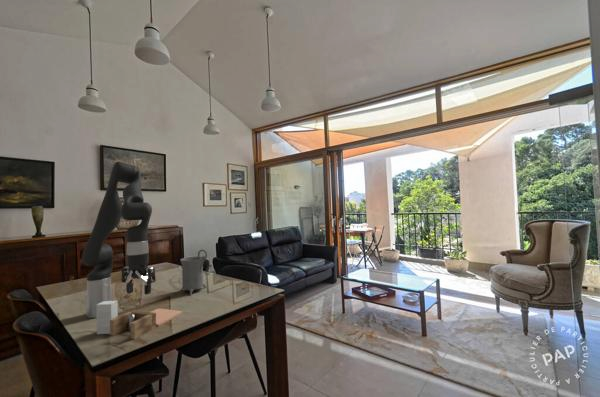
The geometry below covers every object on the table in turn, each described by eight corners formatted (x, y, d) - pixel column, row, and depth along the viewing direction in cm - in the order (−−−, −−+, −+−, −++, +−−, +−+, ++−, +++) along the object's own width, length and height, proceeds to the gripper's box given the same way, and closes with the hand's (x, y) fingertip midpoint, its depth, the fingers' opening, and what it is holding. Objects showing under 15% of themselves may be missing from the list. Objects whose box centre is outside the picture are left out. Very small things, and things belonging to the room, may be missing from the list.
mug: (172, 294, 153) (171, 251, 154) (189, 286, 168) (188, 247, 168) (199, 296, 148) (198, 251, 149) (215, 288, 162) (214, 247, 163)
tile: (132, 322, 116) (132, 320, 116) (158, 310, 130) (158, 308, 130) (158, 326, 112) (158, 324, 112) (182, 312, 125) (182, 311, 125)
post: (126, 330, 109) (126, 315, 109) (132, 327, 111) (131, 313, 111) (131, 330, 108) (130, 316, 108) (136, 328, 110) (136, 313, 110)
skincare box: (118, 329, 110) (118, 300, 110) (111, 334, 106) (111, 304, 106) (103, 329, 110) (103, 300, 110) (96, 334, 106) (95, 304, 106)
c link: (132, 324, 114) (132, 310, 115) (156, 327, 110) (155, 313, 111) (110, 335, 105) (109, 319, 105) (134, 339, 101) (134, 323, 101)
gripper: (159, 251, 106) (160, 291, 106) (131, 250, 110) (132, 289, 109) (144, 254, 99) (145, 297, 99) (114, 254, 103) (115, 296, 102)
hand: (138, 293), depth 104 cm, fingers open, 8 cm apart
